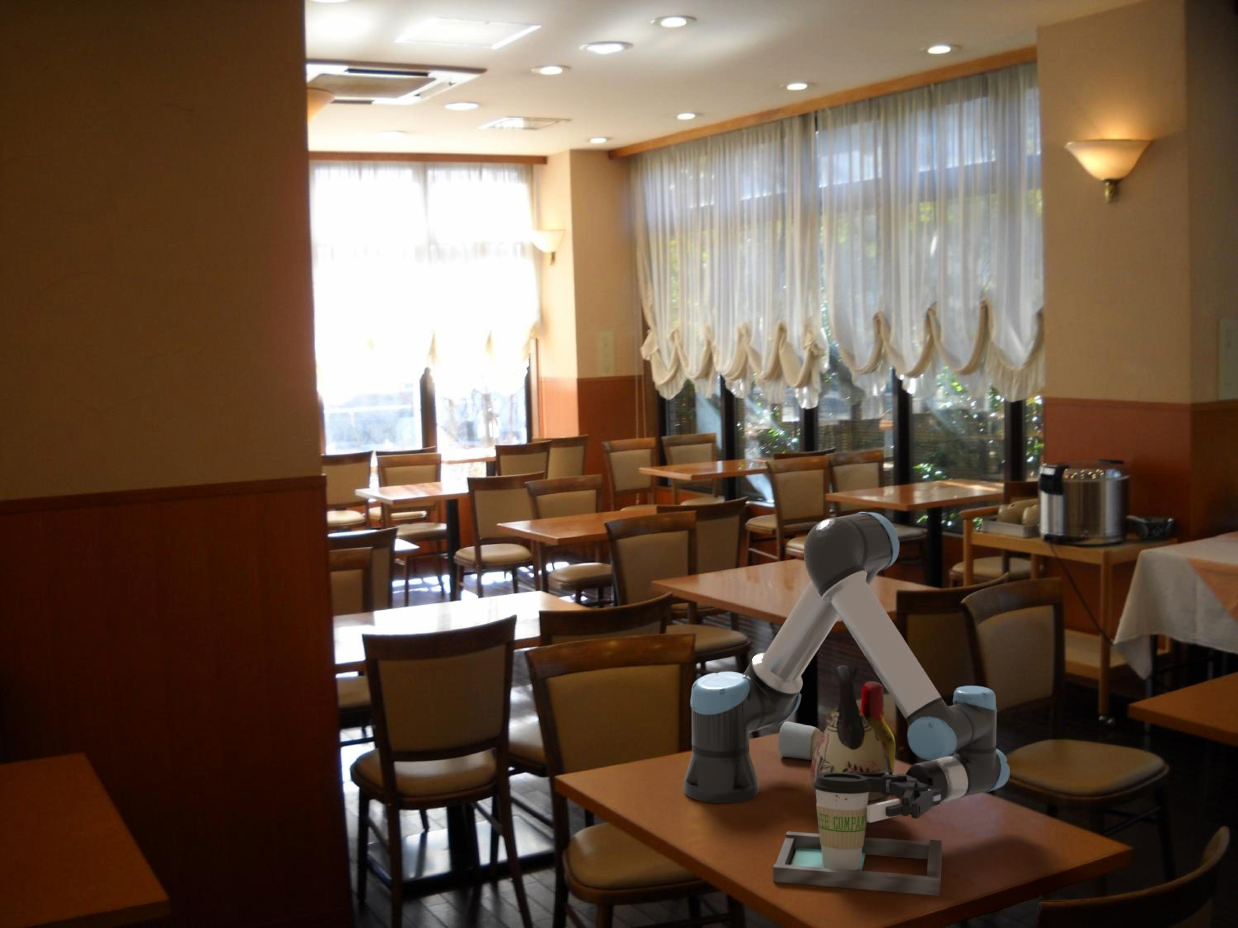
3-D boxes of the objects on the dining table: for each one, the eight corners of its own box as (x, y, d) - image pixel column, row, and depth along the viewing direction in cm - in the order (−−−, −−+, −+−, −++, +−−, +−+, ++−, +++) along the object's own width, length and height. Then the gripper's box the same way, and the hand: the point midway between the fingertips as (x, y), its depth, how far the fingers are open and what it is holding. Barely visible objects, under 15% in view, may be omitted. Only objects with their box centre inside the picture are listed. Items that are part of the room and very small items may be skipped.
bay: (773, 881, 216) (773, 860, 216) (787, 844, 232) (786, 825, 232) (939, 895, 209) (939, 874, 209) (941, 856, 225) (941, 837, 225)
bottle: (902, 779, 268) (902, 684, 266) (881, 785, 264) (881, 689, 262) (859, 765, 277) (859, 674, 276) (839, 771, 274) (838, 678, 272)
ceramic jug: (813, 801, 255) (811, 651, 253) (892, 805, 252) (892, 653, 250) (807, 831, 239) (806, 672, 237) (893, 836, 236) (892, 674, 233)
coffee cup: (806, 869, 217) (807, 778, 218) (818, 856, 226) (819, 770, 227) (865, 875, 213) (866, 783, 214) (875, 862, 223) (875, 774, 224)
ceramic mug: (813, 764, 279) (813, 729, 279) (777, 760, 282) (777, 725, 282) (827, 751, 289) (827, 717, 288) (792, 747, 292) (792, 714, 292)
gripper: (986, 821, 222) (891, 846, 212) (889, 783, 244) (798, 803, 234) (986, 779, 222) (891, 801, 212) (888, 744, 244) (798, 762, 233)
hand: (842, 802), depth 223 cm, fingers open, 13 cm apart
